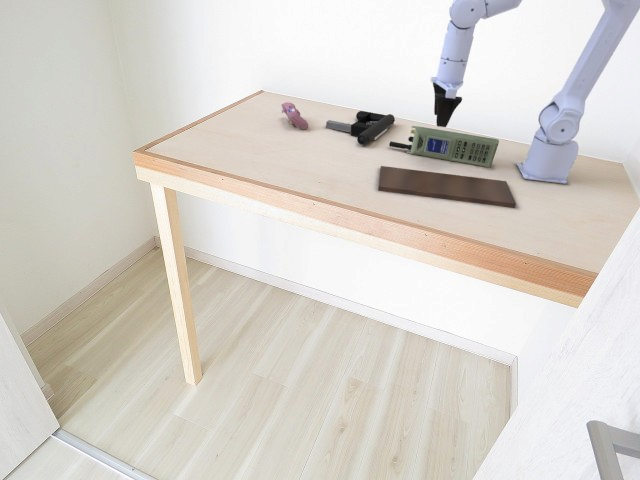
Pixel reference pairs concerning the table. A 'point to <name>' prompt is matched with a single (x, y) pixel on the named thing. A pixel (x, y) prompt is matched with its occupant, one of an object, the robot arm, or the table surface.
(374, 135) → the door handle
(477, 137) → the handheld radio
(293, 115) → the pink rounded piece
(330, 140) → the table surface
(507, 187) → the walnut board
